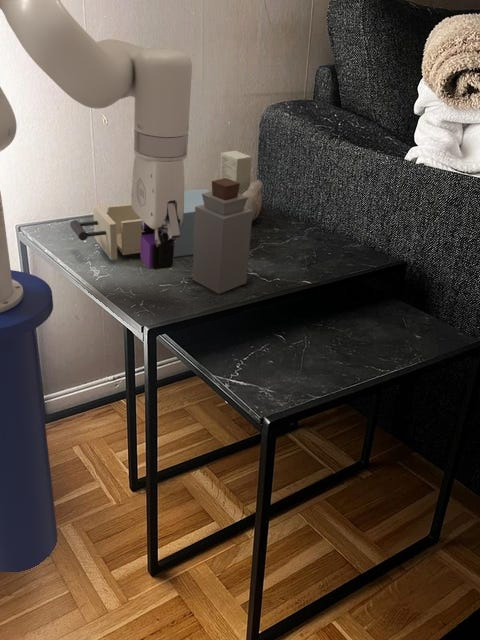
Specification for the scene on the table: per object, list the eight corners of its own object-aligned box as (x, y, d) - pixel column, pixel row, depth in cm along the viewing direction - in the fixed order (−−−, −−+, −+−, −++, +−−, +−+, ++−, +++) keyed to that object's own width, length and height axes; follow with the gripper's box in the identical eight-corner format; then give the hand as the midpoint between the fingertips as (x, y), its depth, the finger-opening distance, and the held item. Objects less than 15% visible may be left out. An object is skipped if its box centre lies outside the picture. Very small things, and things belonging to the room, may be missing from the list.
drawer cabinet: (164, 258, 115) (165, 215, 110) (143, 235, 123) (142, 194, 119) (228, 249, 121) (231, 207, 116) (204, 228, 129) (206, 188, 125)
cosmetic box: (249, 209, 141) (253, 156, 135) (233, 212, 139) (237, 159, 133) (232, 200, 146) (235, 149, 139) (217, 203, 143) (220, 151, 137)
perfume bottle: (246, 283, 108) (255, 184, 99) (218, 293, 104) (225, 191, 95) (220, 269, 112) (226, 173, 103) (192, 279, 108) (196, 180, 99)
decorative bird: (222, 232, 128) (224, 198, 124) (244, 209, 141) (247, 177, 137) (247, 237, 127) (250, 202, 123) (266, 213, 140) (270, 181, 136)
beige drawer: (83, 263, 108) (81, 227, 105) (68, 241, 116) (66, 207, 112) (175, 251, 116) (176, 217, 112) (155, 231, 123) (155, 198, 120)
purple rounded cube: (149, 269, 93) (149, 245, 91) (140, 258, 96) (140, 234, 94) (173, 266, 95) (174, 242, 93) (163, 255, 98) (164, 232, 96)
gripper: (116, 129, 91) (116, 242, 100) (157, 162, 79) (153, 288, 88) (163, 128, 94) (159, 238, 104) (210, 160, 82) (200, 281, 91)
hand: (156, 260), depth 96 cm, fingers closed on purple rounded cube, 4 cm apart
